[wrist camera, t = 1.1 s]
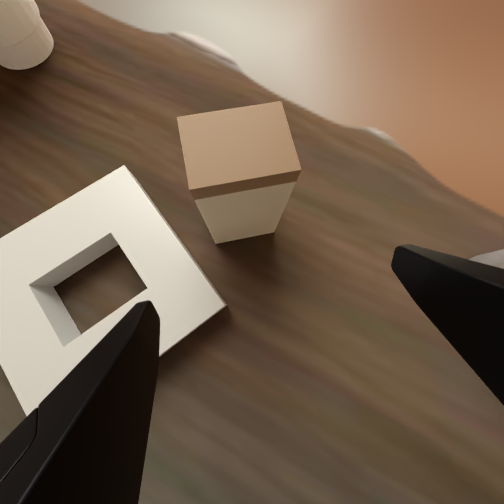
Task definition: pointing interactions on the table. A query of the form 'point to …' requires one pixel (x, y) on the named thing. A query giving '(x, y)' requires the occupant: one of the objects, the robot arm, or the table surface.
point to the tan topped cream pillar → (240, 168)
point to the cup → (23, 35)
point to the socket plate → (75, 258)
